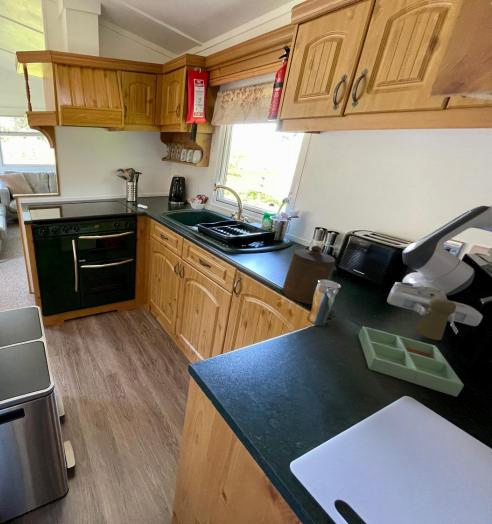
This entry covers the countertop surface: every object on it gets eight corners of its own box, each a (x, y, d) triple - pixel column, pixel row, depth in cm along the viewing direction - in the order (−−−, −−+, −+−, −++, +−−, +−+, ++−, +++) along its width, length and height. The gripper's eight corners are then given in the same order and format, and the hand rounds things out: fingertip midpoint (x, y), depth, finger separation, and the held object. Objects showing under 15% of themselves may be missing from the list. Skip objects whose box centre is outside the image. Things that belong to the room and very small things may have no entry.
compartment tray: (430, 355, 88) (435, 345, 87) (456, 397, 73) (464, 385, 71) (358, 335, 96) (362, 326, 94) (369, 369, 80) (374, 358, 79)
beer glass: (309, 314, 107) (321, 277, 101) (330, 322, 102) (344, 284, 97) (302, 320, 102) (315, 282, 97) (324, 329, 98) (338, 290, 92)
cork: (423, 338, 81) (441, 303, 77) (408, 325, 86) (424, 293, 82) (447, 341, 80) (467, 307, 76) (431, 329, 86) (448, 296, 81)
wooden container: (328, 299, 119) (345, 249, 111) (309, 307, 111) (326, 254, 103) (294, 285, 130) (308, 238, 122) (274, 291, 123) (288, 242, 115)
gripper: (466, 318, 87) (484, 340, 76) (382, 297, 97) (388, 314, 86) (476, 300, 85) (496, 320, 74) (389, 280, 95) (396, 295, 84)
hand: (437, 317), depth 80 cm, fingers closed on cork, 4 cm apart
